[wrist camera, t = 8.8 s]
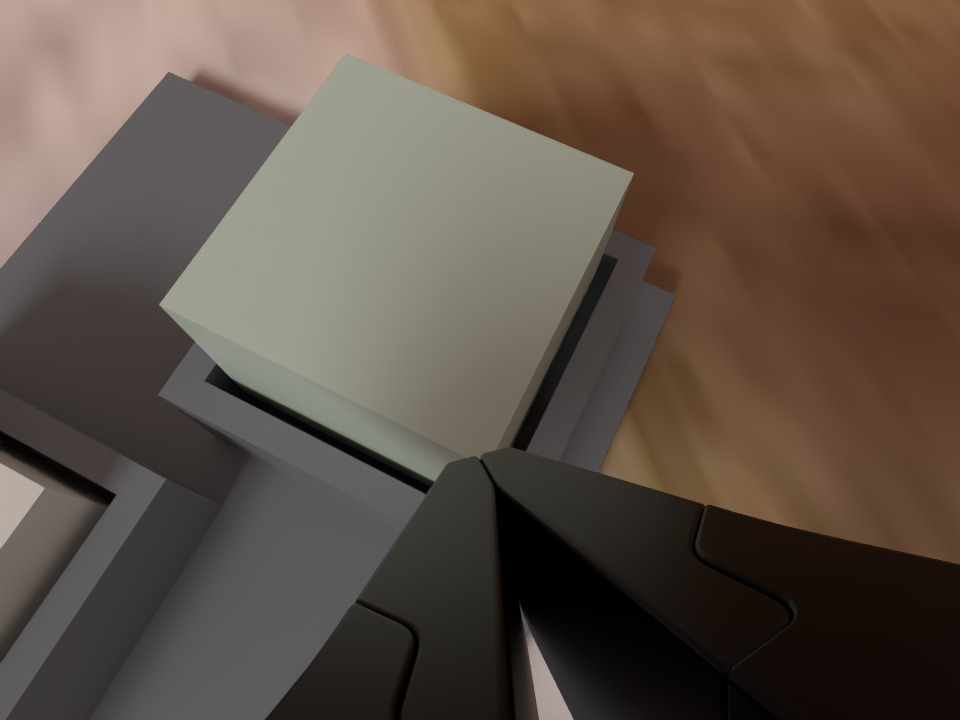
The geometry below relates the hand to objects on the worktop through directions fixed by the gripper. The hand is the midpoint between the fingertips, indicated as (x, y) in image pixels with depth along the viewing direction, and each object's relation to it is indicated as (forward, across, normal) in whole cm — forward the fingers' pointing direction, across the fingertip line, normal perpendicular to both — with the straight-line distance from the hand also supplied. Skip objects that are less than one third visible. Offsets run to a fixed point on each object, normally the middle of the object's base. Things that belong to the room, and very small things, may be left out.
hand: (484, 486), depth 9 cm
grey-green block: (+10, 0, -2) cm, 11 cm away
